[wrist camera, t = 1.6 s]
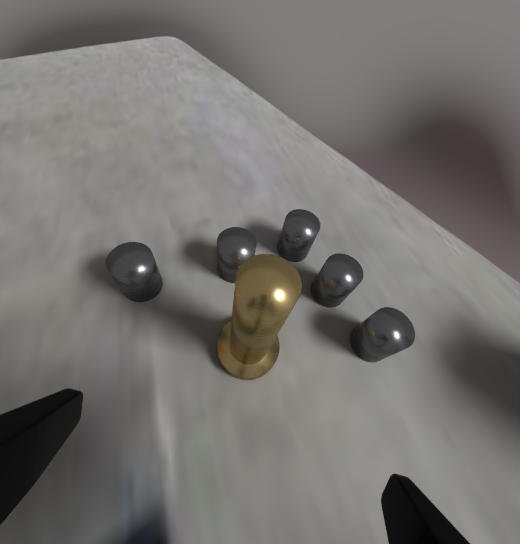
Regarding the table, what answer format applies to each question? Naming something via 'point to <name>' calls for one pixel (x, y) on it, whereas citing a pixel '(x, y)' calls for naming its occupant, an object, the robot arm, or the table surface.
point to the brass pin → (258, 315)
